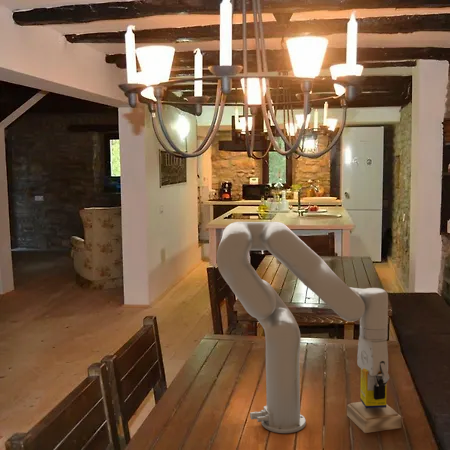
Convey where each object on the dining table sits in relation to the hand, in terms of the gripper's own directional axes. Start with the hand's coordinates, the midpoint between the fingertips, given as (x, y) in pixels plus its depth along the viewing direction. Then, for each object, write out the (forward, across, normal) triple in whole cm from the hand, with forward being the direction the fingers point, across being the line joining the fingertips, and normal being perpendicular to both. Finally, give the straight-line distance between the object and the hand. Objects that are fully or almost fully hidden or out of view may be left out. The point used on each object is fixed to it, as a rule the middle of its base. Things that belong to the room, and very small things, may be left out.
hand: (372, 392), depth 159 cm
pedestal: (+9, 0, 0) cm, 9 cm away
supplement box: (+3, 0, 0) cm, 3 cm away
